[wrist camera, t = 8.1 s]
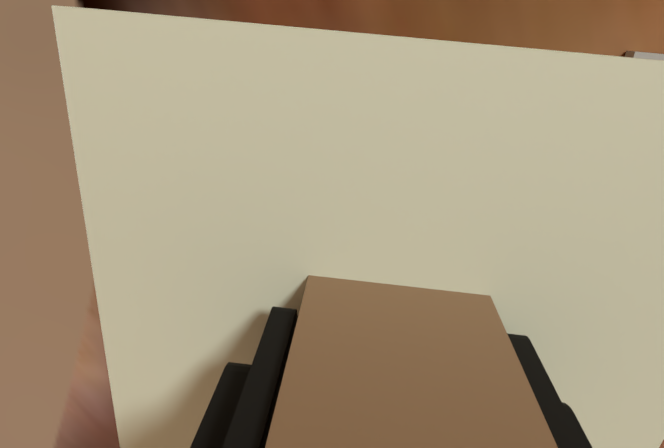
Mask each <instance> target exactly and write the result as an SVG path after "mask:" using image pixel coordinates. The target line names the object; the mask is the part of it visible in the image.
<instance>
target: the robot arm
mask: <svg viewBox="0 0 664 448" xmlns="http://www.w3.org/2000/svg"><path fill="white" fill-rule="evenodd" d="M297 319H298V316H297V309H292V308H283V307H275V306H273V307H272V309H271V311H270V314H269V317H268V320H267V323H266V325H265V328H264V331H263V334H262V337H261V339H260V342H259V345H258V348H257V351H256V354H255V356H254V359H253V362H252V365H250V364H242V363H233V362H228V363H227V364H226V366H225V368H224V370H223V372H222V375H221V377H220V379H219V382H218V384H217V386H216V389H215V391H214V393H213V396H212V398H211V400H210V403H209V405H208V407H207V410H206V412H205V414H204V416H203V419H202V421H201V423H200V426H199V428H198V430H197V433H196V435H195V437H194V440H193V442H192V444H191V447H190V448H265V446H266V442H267V438H268V434H269V430H270V426H271V422H272V418H273V414H274V410H275V406H276V402H277V398H278V394H279V390H280V386H281V382H282V378H283V374H284V370H285V367H286V363H287V359H288V355H289V351H290V347H291V343H292V339H293V335H294V331H295V327H296V323H297ZM507 334H508V333H507ZM508 336H509V339H510V341H511V343H512V346H513V348H514V350H515V352H516V355H517V357H518V359H519V361H520V364H521V366H522V368H523V370H524V373H525V375H526V377H527V379H528V382H529V384H530V386H531V388H532V391H533V393H534V395H535V397H536V400H537V402H538V404H539V406H540V409H541V411H542V413H543V415H544V418H545V420H546V422H547V424H548V427H549V429H550V431H551V433H552V436H553V438H554V440H555V442H556V445H557V447H558V448H592V446H591V444H590V442H589V440H588V438H587V436H586V435H585V433H584V431H583V429H582V427H581V425H580V423H579V421H578V419H577V417H576V416H575V414H574V412H573V410H572V409H571V408H570V406H569V405H567V404H566V403H563V402H561V400H560V398H559V396H558V394H557V392H556V390H555V388H554V386H553V384H552V382H551V380H550V378H549V376H548V374H547V372H546V370H545V368H544V366H543V364H542V362H541V360H540V358H539V356H538V354H537V352H536V350H535V348H534V347H533V345H532V343H531V341H530V339H529V338H528V337H527V336H525V335H516V334H508Z"/></svg>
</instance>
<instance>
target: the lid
mask: <svg viewBox="0 0 664 448" xmlns="http://www.w3.org/2000/svg"><path fill="white" fill-rule="evenodd" d="M52 12H53V19H54V25H55V32H56V38H57V45H58V51H59V58H60V64H61V71H62V76H63V83H64V90H65V96H66V102H67V108H68V116H69V122H70V129H71V135H72V142H73V148H74V154H75V161H76V167H77V174H78V180H79V187H80V193H81V200H82V206H83V213H84V218H85V225H86V232H87V238H88V245H89V251H90V258H91V264H92V271H93V277H94V284H95V290H96V297H97V303H98V310H99V316H100V322H101V329H102V335H103V342H104V348H105V355H106V361H107V368H108V374H109V381H110V387H111V393H112V400H113V406H114V413H115V419H116V426H117V432H118V439H119V445H120V448H190V447H191V444H192V442H193V440H194V437H195V435H196V433H197V430H198V428H199V426H200V423H201V421H202V419H203V416H204V414H205V412H206V410H207V407H208V405H209V403H210V400H211V398H212V396H213V393H214V391H215V389H216V386H217V384H218V382H219V379H220V377H221V375H222V372H223V370H224V368H225V366H226V364H227V363H228V362H233V363H242V364H250V365H252V362H253V359H254V356H255V354H256V351H257V348H258V345H259V342H260V339H261V337H262V334H263V331H264V328H265V325H266V323H267V320H268V317H269V314H270V311H271V309H272V307H273V306H275V307H283V308H292V309H297V316H298V319H297V323H296V327H295V331H294V335H293V339H292V343H291V347H290V351H289V355H288V359H287V363H286V367H285V370H284V374H283V378H282V382H281V386H280V390H279V394H278V398H277V402H276V406H275V410H274V414H273V418H272V422H271V426H270V430H269V434H268V438H267V442H266V446H265V448H558V447H557V445H556V442H555V440H554V438H553V436H552V433H551V431H550V429H549V427H548V424H547V422H546V420H545V418H544V415H543V413H542V411H541V409H540V406H539V404H538V402H537V400H536V397H535V395H534V393H533V391H532V388H531V386H530V384H529V382H528V379H527V377H526V375H525V373H524V370H523V368H522V366H521V364H520V361H519V359H518V357H517V355H516V352H515V350H514V348H513V346H512V343H511V341H510V339H509V336H508V334H516V335H525V336H527V337H528V338H529V339H530V341H531V343H532V345H533V347H534V348H535V350H536V352H537V354H538V356H539V358H540V360H541V362H542V364H543V366H544V368H545V370H546V372H547V374H548V376H549V378H550V380H551V382H552V384H553V386H554V388H555V390H556V392H557V394H558V396H559V398H560V400H561V402H563V403H566V404H567V405H569V406H570V408H571V409H572V410H573V412H574V414H575V416H576V417H577V419H578V421H579V423H580V425H581V427H582V429H583V431H584V433H585V435H586V436H587V438H588V440H589V442H590V444H591V446H592V448H659V447H660V445H661V443H662V441H663V439H664V60H654V59H643V58H632V57H620V56H609V55H598V54H587V53H576V52H565V51H554V50H543V49H532V48H521V47H510V46H499V45H488V44H477V43H466V42H455V41H444V40H433V39H422V38H411V37H400V36H389V35H378V34H367V33H356V32H345V31H334V30H323V29H312V28H301V27H290V26H279V25H268V24H257V23H246V22H235V21H224V20H213V19H202V18H191V17H180V16H169V15H157V14H146V13H135V12H124V11H113V10H102V9H91V8H80V7H65V6H52ZM507 333H508V334H507Z"/></svg>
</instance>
